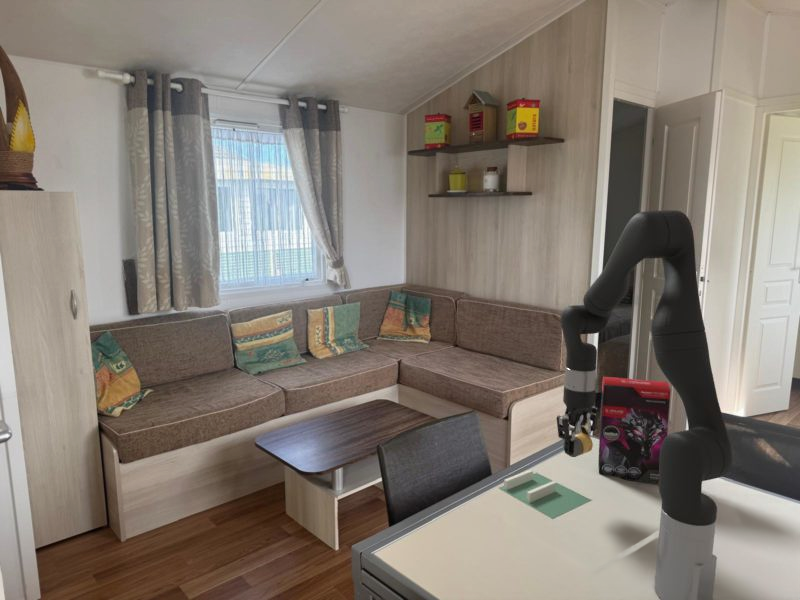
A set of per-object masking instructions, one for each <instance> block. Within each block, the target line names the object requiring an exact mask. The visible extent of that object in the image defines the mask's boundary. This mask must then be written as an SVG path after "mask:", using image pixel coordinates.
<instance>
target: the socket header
mask: <svg viewBox="0 0 800 600" xmlns="http://www.w3.org/2000/svg"><path fill="white" fill-rule="evenodd" d="M533 474H534V471H533V470H532V469H528V470H526V471H523V472H520V473H517V474H516V475H512V476H510V477H508V478H505V479H504V480H503V486H504V489H505V490H508V489H511V488H513V487H516V486H518V485H521V484H523V483H525V482H528V481H530V480H533ZM556 483H557V482H556V481H555V480H552V482H549V483H547V484H545V485H542V486H540V487H538V488H535V489H533V490H530V491H528V492H527V499H526V501H527V502H529V503H530V502H533V501H535V500H537V499H540V498H542V497H544V496H546V495H549V494H551V493H553V492H556Z"/></svg>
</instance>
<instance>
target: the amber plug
mask: <svg viewBox="0 0 800 600" xmlns="http://www.w3.org/2000/svg"><path fill="white" fill-rule="evenodd" d="M563 440H564V439H563ZM562 443H563V445H562V446H563V448H564V443H565V440H564V441H563V442H562ZM593 446H594V444H593V439H592V438H591V437H590V435H589V436H588V435H587V434H585V433H582V432H580V433H576V435H575V438H574V453H573V455H568V456H569V457H571V458H576V457H579V456H581V455H584V454H586V453H589V452H591V450H593V448H594V447H593Z"/></svg>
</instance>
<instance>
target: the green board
mask: <svg viewBox="0 0 800 600" xmlns="http://www.w3.org/2000/svg"><path fill="white" fill-rule="evenodd" d="M552 481H553V480H552V479H550V478H548V477H547V476H544V475H542V474H540V473H538V472H535V473H534V472H533V480H530V481H528V482H525V483H523V484H521V485H518V486H516V487H513V488H511V489H508V490H505V489H504V485H502V486H499V487H498V489H499V490H501V491H503V492H504V493H506V494H508V495H509V496H511V497H513V498H514V499H517V500H518V501H520V502H522V503H524V505H525V504H526V505H527V506H529V507H531V508H532V509H534V510H536V511H538V512H539V513H541V514H543V515H545V516H547V517H548V518H550V519H552V520H554V519H556V518H558V517H561V516H562V515H564V514H566V513H568V512H570V511H573V510H574V509H576V508H578V507H581V506H583V505H585V504H587V503H589V502H591V501H592V499H591V498H588V497H586V496H584V495H582V494H580V493H578V492H576V491H574V490H572V489H571V488H569V487H566V486H564V485H562V484H561V483H558V482H556V492H553V493H551V494H549V495H546V496H544V497H542V498H540V499H537V500H535V501H533V502H530V503H529V502H527V501H526V499H527V492H528V491H530V490H533V489H535V488H538V487H540V486H542V485H545V484H547V483H549V482H552Z"/></svg>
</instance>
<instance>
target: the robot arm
mask: <svg viewBox="0 0 800 600" xmlns="http://www.w3.org/2000/svg"><path fill="white" fill-rule="evenodd" d="M694 237H695V235H694V230H693V225H692V223H691V220H690V219H689V217H688V216H687V214H685V213H684V212H682V211H681V210H673V209H672V210H670V209H669V210H667V209H665V210H645V211H641V212H638V213H636V214H635V215H633V216H632V217H631V218H630V220H629V221H628V222H627V224H626V225H625V227H624V229H623V231H622V232H621V235H620V237H619V238H618V241H617V243H616V244H615V247H614V249H613V251H612V252H611V255H610V257H609V258H608V261H607V262H606V264H605V266H604V268H603V269H602V271H601V273H600V275H598V277H597V278H596V279H595V280H594V281H593V283H592V284H591V286H590V287H589V288H588V289H587V291H586V292H585V294H584V296H583V299H582V300H583V301H582V303H583V304H578V305H577V304H576V305H574V304H573V305H568V306H567V307H564V309H563V310H562V312H561V315H560V327H561V330H562V333H563V338H564V345H565V350H566V359H565V370H564V371H565V372H564V379H563V397H562V402H563V403H564V404H565V407H566V408H565V412H564V414H563V415H562V416H561V415H557V416H556V425H557V433H558V434H557V436H558V438H559V439H562V440H565V443H564V442H563V443H564V447H563V451H564V454H566V455H568V456H569V455H573V453H574V438H575V435H577V434H578V433H579V432H580V433H585V434H587V435H588V436H589V437H590V436H591V435H592V432H596V429H597V425H598V419H599V416H600V415H599V414H600V408H599V407H596V406H595V405H596V397H597V395H596V394H597V378H598V377H597V361H598V359H597V357H598V350H597V347H596V346H595V345H594V344H592V343H589V342H584V341H583V340H582V335H591V334H598V333H600V332H602V331H604V330H605V329H606V328H607V325H608V323H609V320H610V318H611V316H612V312H613V310H615V308H616V307H618V305H619V304H620V302H621V301H622V300H624V298H625V296H626V295H627V294H628V293H629V289H630V283H631V282H630V281H631V278H630V276H631V275H630V274H631V271H632V270H633V269H634V268H635V267H636V266H637V265H638V264H639V263H641V262H642V261H643V260H645V259H650V260H651V259H661V260H662V265H663V274H664V286H663V291H662V294H661V297H660V299H659V302H658V304H657V307H656V309H655V312H654V315H653V317H652V320H651V321H652V322H651V329H650V330H651V336H652V337H651V338H652V345H653V350H654V356H655V360H656V363H657V365H658V366H659V368H660V370H661V372H662V373H663V375H664V377H665V378H666V379H667V380H668V381H669V383H670V384H671V386H672V387H673V389H674V390H675V391H676V392H677V394H678V395H679V397H680V399H681V402H682V403H683V406H684V410H685V415H686V421H687V426H688V429H687V430H681V431H680V430H679V431H675V432H671V433H669V434H667V436H666V437H665V439H664V440H663V442H662V445H661V449H660V458H659V484H658V491H659V496H660V498H661V509H660V518H659V519H660V520H659V521H660V522H659V529H658V531H659V532H658V540H657V553H656V566H655V575H654V586H653V587H654V591H655V594H656V595H657V596H658V598H660V599H661V600H713V598H714V588H715V587H714V585H715V580H716V570H717V569H716V568H717V560H718V558H717V555H715V554H713V552H714V543H715V534H716V533H715V532H716V523H717V516H718V506H717V503H716V502H715V501H714V499H712V498H711V497H710V496H709V495H707V494H705V493H703V492H702V491H703V489H702V487H703V486H702V485H703V482H705V481H710V480H715V479H718V478H722V477H724V476H726V475H727V474H728V473H729V472H730V471H731V468H732V465H733V450H732V445H731V442H730V438H729V434H728V430H727V427H726V424H725V420H724V417H723V413H722V410H721V407H720V403H719V399H718V395H717V390H716V385H715V379H714V374H713V370H712V365H711V358H710V351H709V345H708V339H707V333H706V328H705V323H704V319H703V314H702V307H701V300H700V293H699V286H698V278H697V266H696V265H697V264H696V250H695V249H696V248H695V238H694ZM570 431H571V433H570Z"/></svg>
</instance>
